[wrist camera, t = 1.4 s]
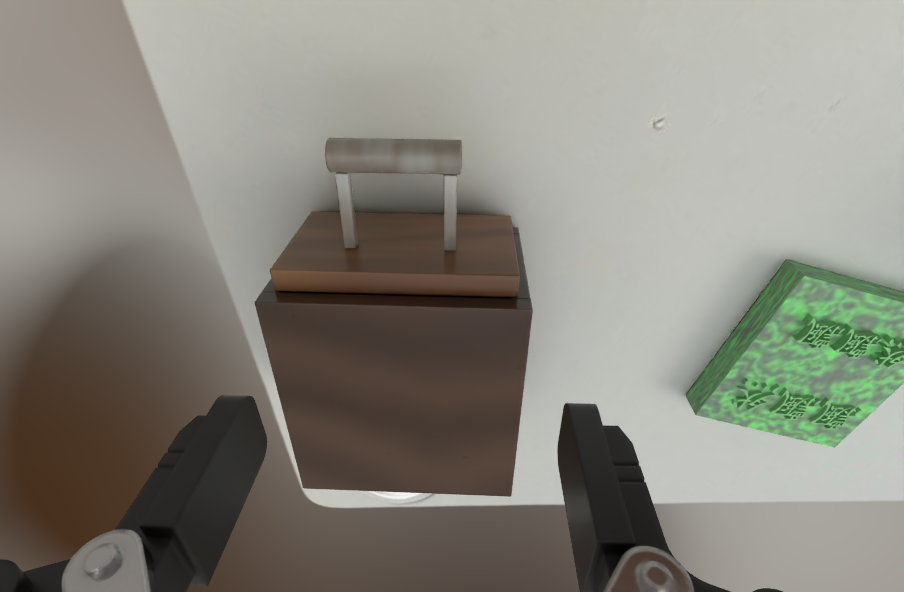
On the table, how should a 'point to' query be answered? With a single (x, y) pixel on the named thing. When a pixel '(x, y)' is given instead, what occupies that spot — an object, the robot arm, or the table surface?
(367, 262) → the drawer
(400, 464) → the cabinet
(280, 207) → the table surface
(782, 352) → the green jade tablet
